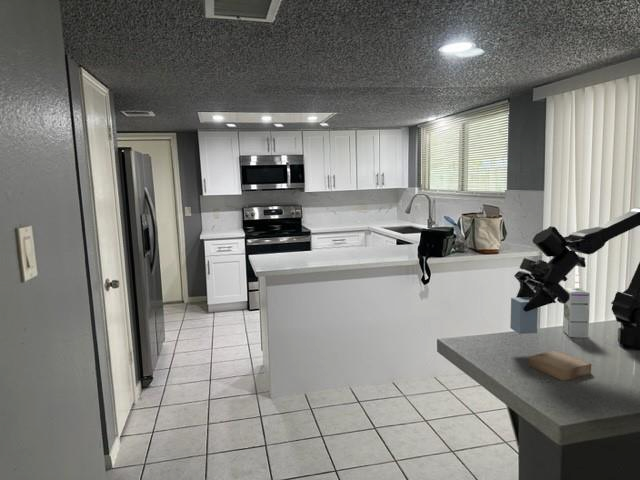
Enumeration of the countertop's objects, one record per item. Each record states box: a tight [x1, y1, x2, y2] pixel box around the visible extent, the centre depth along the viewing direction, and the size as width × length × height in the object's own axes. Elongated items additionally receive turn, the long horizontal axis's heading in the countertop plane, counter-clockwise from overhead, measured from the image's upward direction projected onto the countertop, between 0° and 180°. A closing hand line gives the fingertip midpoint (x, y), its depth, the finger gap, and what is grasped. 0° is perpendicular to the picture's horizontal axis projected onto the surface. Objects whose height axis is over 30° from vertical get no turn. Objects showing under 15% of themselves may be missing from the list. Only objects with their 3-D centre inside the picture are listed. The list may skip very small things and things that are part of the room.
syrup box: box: [562, 287, 591, 339], centre depth 137 cm, size 6×6×14 cm
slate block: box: [509, 297, 539, 335], centre depth 123 cm, size 5×5×9 cm
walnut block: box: [528, 350, 592, 382], centre depth 112 cm, size 10×10×3 cm
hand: (519, 307), depth 123 cm, fingers closed on slate block, 5 cm apart
